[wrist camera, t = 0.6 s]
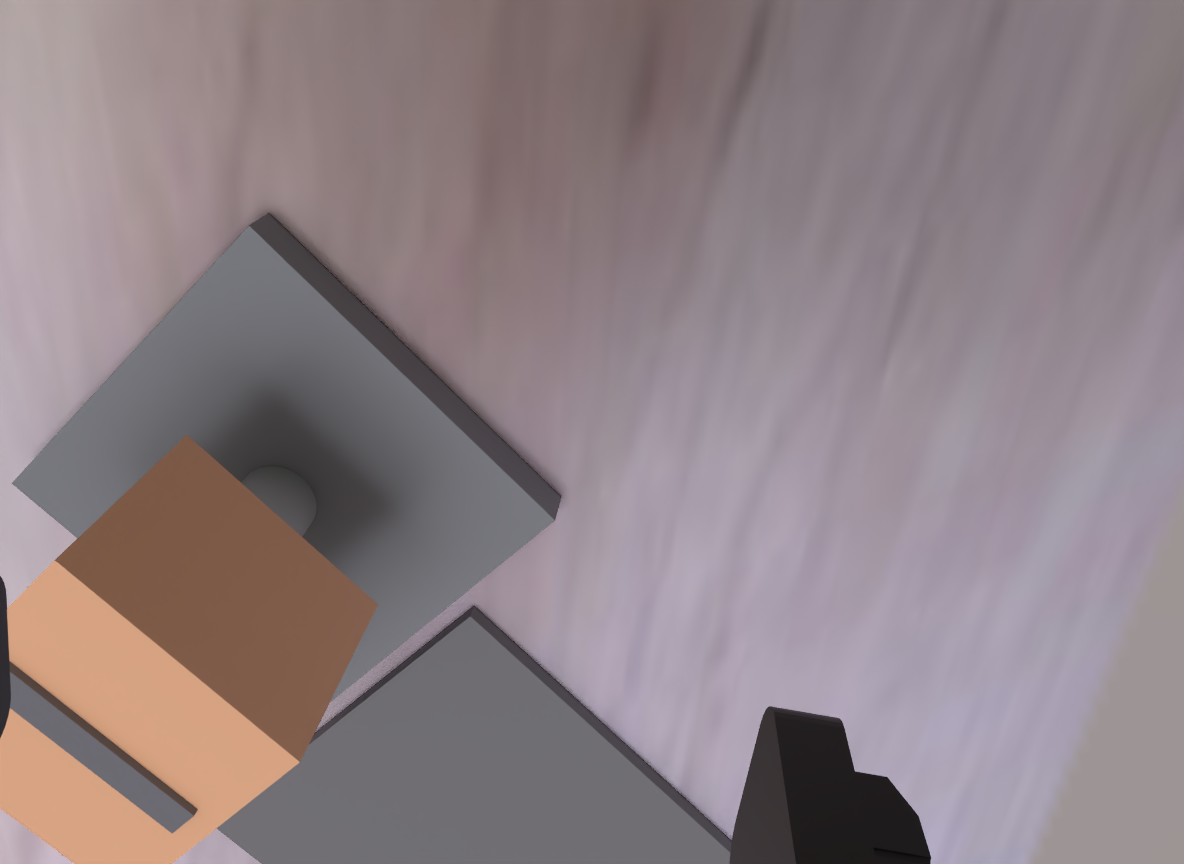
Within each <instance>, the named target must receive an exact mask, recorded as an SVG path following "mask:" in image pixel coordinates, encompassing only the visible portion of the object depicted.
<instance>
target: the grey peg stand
mask: <svg viewBox="0 0 1184 864" xmlns="http://www.w3.org/2000/svg"><path fill="white" fill-rule="evenodd" d="M186 435H188V436H189V437H190V438H191V439H192V440H193V441H195V442H196V443H197V444H198V445H199V446H200V447H201V448H202V449H204V450H205V451H206V452H207V453H208V454H209V455H210V456H211V457H213V458H214V459H215V460H216V461H217V462H218V463H219V464H220V465H222V466H223V467H224V468H225V469H226V470H227V471H228V472H229V473H231V474H232V475H233V476H234V477H235V478H236V479H237V480H238V481H240V482H241V483H242V484H243V485H244V486H245V487H246V488H247V489H249V490H250V491H251V492H252V493H253V494H254V495H255V496H256V497H258V498H259V499H260V500H261V501H262V502H263V503H264V504H265V505H267V506H268V507H269V508H270V509H271V510H272V511H273V512H274V513H276V514H277V515H278V516H279V517H280V518H281V519H282V520H283V521H285V522H286V523H287V524H288V525H289V526H290V527H291V528H292V529H294V530H295V531H296V532H297V533H298V534H299V535H300V536H301V537H303V538H304V539H305V540H306V541H307V542H308V543H309V544H310V545H312V546H313V547H314V548H315V549H316V550H317V551H318V552H319V553H321V554H322V555H323V556H324V557H325V558H326V559H327V560H328V561H330V562H331V563H332V564H333V565H334V566H335V567H336V568H337V569H339V570H340V571H341V572H342V573H343V574H344V575H345V576H346V577H348V578H349V579H350V580H351V581H352V582H353V583H354V584H355V585H357V586H358V587H359V588H360V589H361V590H362V591H363V592H364V593H366V594H367V595H368V596H369V597H370V598H371V599H372V600H373V601H375V602H376V603H377V604H378V606H377V608H376V610H375V612H374V614H373V616H372V618H371V620H370V622H369V624H368V626H367V628H366V630H365V632H364V634H363V636H362V638H361V640H360V642H359V644H358V646H357V648H356V650H355V652H354V654H353V656H352V658H351V660H350V662H349V664H348V666H347V668H346V670H345V672H344V674H343V677H342V679H341V681H340V683H339V685H338V687H337V689H336V691H335V693H334V695H333V697H332V699H331V701H332V700H333V699H335V698H336V697H337V696H338V695H340V694H341V693H342V692H343V691H345V690H346V689H347V688H348V687H349V686H351V685H352V684H353V683H354V682H356V681H357V680H358V679H359V678H361V677H362V676H363V675H364V674H366V673H367V672H368V671H369V670H371V669H372V668H373V667H374V666H375V665H377V664H378V663H379V662H380V661H382V660H383V659H384V658H385V657H387V656H388V655H389V654H390V653H392V652H393V651H394V650H395V649H396V648H398V647H399V646H400V645H401V644H403V643H404V642H405V641H406V640H408V639H409V638H410V637H411V636H413V635H414V634H415V633H416V632H418V631H419V630H420V629H421V628H422V627H424V626H425V625H426V624H427V623H429V622H430V621H431V620H432V619H434V618H435V617H436V616H437V615H439V614H440V613H441V612H442V611H443V610H445V609H446V608H447V607H448V606H450V605H451V604H452V603H453V602H455V601H456V600H457V599H458V598H460V597H461V596H462V595H463V594H465V593H466V592H467V591H468V590H469V589H471V588H472V587H473V586H474V585H476V584H477V583H478V582H479V581H481V580H482V579H483V578H484V577H486V576H487V575H488V574H489V573H490V572H492V571H493V570H494V569H495V568H497V567H498V566H499V565H500V564H502V563H503V562H504V561H505V560H507V559H508V558H509V557H510V556H512V555H513V554H514V553H515V552H516V551H518V550H519V549H520V548H521V547H523V546H524V545H525V544H526V543H528V542H529V541H530V540H531V539H533V538H534V537H535V536H536V535H537V534H539V533H540V532H541V531H542V530H544V529H545V528H546V527H547V526H549V525H550V524H551V523H552V522H554V521H555V518H556V515H557V511H558V507H559V503H560V499H561V497H560V496H559V495H558V494H557V493H556V492H555V491H554V490H553V489H552V488H551V487H550V486H549V485H548V484H547V483H546V482H545V481H544V480H543V479H542V478H541V477H540V476H539V475H538V474H537V473H536V472H535V471H534V470H533V469H532V468H531V467H530V466H529V465H527V464H526V463H525V462H524V461H523V460H522V459H521V458H520V457H519V456H518V455H517V454H516V453H515V452H514V451H513V450H512V449H511V448H510V447H509V446H508V445H507V444H506V443H505V442H504V441H503V440H502V439H501V438H500V437H499V436H498V435H497V434H496V433H495V432H494V431H493V430H491V429H490V428H489V427H488V426H487V425H486V424H485V423H484V422H483V421H482V420H481V419H480V418H479V417H478V416H477V415H476V414H475V413H474V412H473V411H472V410H471V409H470V408H469V407H468V406H467V405H466V404H465V403H464V402H463V401H462V400H461V399H460V398H459V397H458V396H457V395H455V394H454V393H453V392H452V391H451V390H450V389H449V388H448V387H447V386H446V385H445V384H444V383H443V382H442V381H441V380H440V379H439V378H438V377H437V376H436V375H435V374H434V373H433V372H432V371H431V370H430V369H429V368H428V367H427V366H426V365H425V364H424V363H423V362H422V361H421V360H419V359H418V358H417V357H416V356H415V355H414V354H413V353H412V352H411V351H410V350H409V349H408V348H407V347H406V346H405V345H404V344H403V343H402V342H401V341H400V340H399V339H398V338H397V337H396V336H395V335H394V334H393V333H392V332H391V331H390V330H389V329H388V328H387V327H386V326H384V325H383V324H382V323H381V322H380V321H379V320H378V319H377V318H376V317H375V316H374V315H373V314H372V313H371V312H370V311H369V310H368V309H367V308H366V307H365V306H364V305H363V304H362V303H361V302H360V301H359V300H358V299H357V298H356V297H355V296H354V295H353V294H352V293H351V292H350V291H348V290H347V289H346V288H345V287H344V286H343V285H342V284H341V283H340V282H339V281H338V280H337V279H336V278H335V277H334V276H333V275H332V274H331V273H330V272H329V271H328V270H327V269H326V268H325V267H324V266H323V265H322V264H321V263H320V262H319V261H318V260H317V259H316V258H315V257H314V256H312V255H311V254H310V253H309V252H308V251H307V250H306V249H305V248H304V247H303V246H302V245H301V244H300V243H299V242H298V241H297V240H296V239H295V238H294V237H293V236H292V235H291V234H290V233H289V232H288V231H287V230H286V229H285V228H284V227H283V226H282V225H281V224H280V223H279V222H277V221H276V220H275V219H274V218H273V217H272V216H271V215H270V214H269V213H268V214H267V215H265V216H264V217H262V218H260V219H259V220H257V221H256V222H254V223H252V224H251V225H249V226H248V227H247V228H246V229H245V231H244V232H243V233H242V234H241V235H240V236H239V237H238V238H237V239H236V240H235V241H234V242H233V244H232V245H231V246H230V247H229V248H228V249H227V250H226V251H225V252H224V253H223V254H222V256H221V257H220V258H219V259H218V260H217V261H216V262H215V263H214V264H213V265H212V266H211V267H210V269H209V270H208V271H207V272H206V273H205V274H204V275H203V276H202V277H201V278H200V279H199V280H198V282H197V283H196V284H195V285H194V286H193V287H192V288H191V289H190V290H189V291H188V292H187V294H186V295H185V296H184V297H183V298H182V299H181V300H180V301H179V302H178V303H177V304H176V305H175V307H174V308H173V309H172V310H171V311H170V312H169V313H168V314H167V315H166V316H165V317H164V319H163V320H162V321H161V322H160V323H159V324H158V325H157V326H156V327H155V328H154V329H153V330H152V332H151V333H150V334H149V335H148V336H147V337H146V338H145V339H144V340H143V341H142V342H141V344H140V345H139V346H138V347H137V348H136V349H135V350H134V351H133V352H132V353H131V354H130V355H129V357H128V358H127V359H126V360H125V361H124V362H123V363H122V364H121V365H120V366H119V367H118V368H117V370H116V371H115V372H114V373H113V374H112V375H111V376H110V377H109V378H108V379H107V380H106V382H105V383H104V384H103V385H102V386H101V387H100V388H99V389H98V390H97V391H96V392H95V393H94V395H93V396H92V397H91V398H90V399H89V400H88V401H87V402H86V403H85V404H84V405H83V407H82V408H81V409H80V410H79V411H78V412H77V413H76V414H75V415H74V416H73V417H72V418H71V420H70V421H69V422H68V423H67V424H66V425H65V426H64V427H63V428H62V429H61V430H60V431H59V433H58V434H57V435H56V436H55V437H54V438H53V439H52V440H51V441H50V442H49V443H48V445H47V446H46V447H45V448H44V449H43V450H42V451H41V452H40V453H39V454H38V455H37V456H36V458H35V459H34V460H33V461H32V462H31V463H30V464H29V465H28V466H27V467H26V468H25V470H24V471H23V472H22V473H21V474H20V475H19V476H18V477H17V478H16V479H15V480H14V481H13V483H12V484H13V485H14V486H16V487H17V488H18V489H19V490H20V491H22V492H23V493H24V494H25V495H26V496H28V497H29V498H30V499H31V500H32V501H34V502H35V503H36V504H37V505H38V506H39V507H41V508H42V509H43V510H44V511H45V512H47V513H48V514H49V515H50V516H51V517H53V518H54V519H55V520H56V521H57V522H59V523H60V524H61V525H62V526H63V527H65V528H66V529H67V530H68V531H69V532H71V533H72V534H73V535H74V536H75V537H77V538H79V537H80V536H81V535H82V534H83V533H84V532H85V531H86V530H87V529H88V528H89V527H90V526H91V525H92V524H93V523H94V522H96V521H97V520H98V519H99V518H100V517H101V516H102V515H103V514H104V513H105V512H106V511H107V510H108V509H109V508H110V507H111V506H112V505H113V504H114V503H116V502H117V501H118V500H119V499H120V498H121V497H122V496H123V495H124V494H125V493H126V492H127V491H128V490H129V489H130V488H131V487H132V486H133V485H134V484H136V483H137V482H138V481H139V480H140V479H141V478H142V477H143V476H144V475H145V474H146V473H147V472H148V471H149V470H150V469H151V468H152V467H153V466H154V465H156V464H157V463H158V462H159V461H160V460H161V459H162V458H163V457H164V456H165V455H166V454H167V453H168V452H169V451H170V450H171V449H172V448H173V447H174V446H175V445H177V444H178V443H179V442H180V441H181V440H182V439H183V438H184V437H185V436H186ZM331 701H330V702H331Z"/></svg>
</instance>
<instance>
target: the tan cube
mask: <svg viewBox="0 0 1184 864" xmlns="http://www.w3.org/2000/svg"><path fill="white" fill-rule="evenodd" d="M377 606H378V604H377V603H376V602H375V601H373V600H372V599H371V598H370V597H369V596H368V595H367V594H366V593H364V592H363V591H362V590H361V589H360V588H359V587H358V586H357V585H355V584H354V583H353V582H352V581H351V580H350V579H349V578H348V577H346V576H345V575H344V574H343V573H342V572H341V571H340V570H339V569H337V568H336V567H335V566H334V565H333V564H332V563H331V562H330V561H328V560H327V559H326V558H325V557H324V556H323V555H322V554H321V553H319V552H318V551H317V550H316V549H315V548H314V547H313V546H312V545H310V544H309V543H308V542H307V541H306V540H305V539H304V538H303V537H301V536H300V535H299V534H298V533H297V532H296V531H295V530H294V529H292V528H291V527H290V526H289V525H288V524H287V523H286V522H285V521H283V520H282V519H281V518H280V517H279V516H278V515H277V514H276V513H274V512H273V511H272V510H271V509H270V508H269V507H268V506H267V505H265V504H264V503H263V502H262V501H261V500H260V499H259V498H258V497H256V496H255V495H254V494H253V493H252V492H251V491H250V490H249V489H247V488H246V487H245V486H244V485H243V484H242V483H241V482H240V481H238V480H237V479H236V478H235V477H234V476H233V475H232V474H231V473H229V472H228V471H227V470H226V469H225V468H224V467H223V466H222V465H220V464H219V463H218V462H217V461H216V460H215V459H214V458H213V457H211V456H210V455H209V454H208V453H207V452H206V451H205V450H204V449H202V448H201V447H200V446H199V445H198V444H197V443H196V442H195V441H193V440H192V439H191V438H190V437H189V436H188V435H186V436H185V437H184V438H183V439H182V440H181V441H180V442H179V443H178V444H177V445H175V446H174V447H173V448H172V449H171V450H170V451H169V452H168V453H167V454H166V455H165V456H164V457H163V458H162V459H161V460H160V461H159V462H158V463H157V464H156V465H154V466H153V467H152V468H151V469H150V470H149V471H148V472H147V473H146V474H145V475H144V476H143V477H142V478H141V479H140V480H139V481H138V482H137V483H136V484H134V485H133V486H132V487H131V488H130V489H129V490H128V491H127V492H126V493H125V494H124V495H123V496H122V497H121V498H120V499H119V500H118V501H117V502H116V503H114V504H113V505H112V506H111V507H110V508H109V509H108V510H107V511H106V512H105V513H104V514H103V515H102V516H101V517H100V518H99V519H98V520H97V521H96V522H94V523H93V524H92V525H91V526H90V527H89V528H88V529H87V530H86V531H85V532H84V533H83V534H82V535H81V536H80V537H79V538H78V539H77V540H76V541H75V542H73V543H72V544H71V545H70V546H69V547H68V548H67V549H66V550H65V551H64V552H63V553H62V554H61V555H60V556H59V557H58V558H57V559H56V560H55V561H54V562H53V563H52V564H51V565H50V566H49V567H48V568H47V569H46V570H45V571H44V572H43V573H42V574H41V575H40V576H39V577H38V578H37V579H36V580H35V581H34V582H33V583H32V584H31V585H30V586H29V587H28V588H27V589H26V590H25V591H24V592H23V593H22V594H21V595H20V596H19V597H18V598H17V599H16V600H15V601H14V602H13V603H12V604H11V605H10V606H9V607H8V608H7V620H8V642H9V663H10V684H11V703H10V710H9V715H8V719H7V722H6V726H5V728H4V731H3V734H2V736H1V738H0V808H1V809H2V810H3V811H5V812H6V813H7V814H9V815H10V816H11V817H13V818H14V819H15V820H17V821H18V822H19V823H21V824H22V825H23V826H25V827H26V828H27V829H29V830H30V831H31V832H33V833H34V834H35V835H37V836H38V837H39V838H41V839H42V840H43V841H45V842H46V843H47V844H49V845H50V846H51V847H53V848H54V849H55V850H57V851H58V852H59V853H61V854H62V855H63V856H65V857H66V858H68V859H69V860H70V861H72V862H73V863H74V864H172V863H173V862H174V861H176V860H177V859H178V858H180V857H181V856H182V855H183V854H185V853H186V852H187V851H188V850H190V849H191V848H192V847H193V846H195V845H196V844H197V843H198V842H200V841H201V840H202V839H204V838H205V837H206V836H207V835H209V834H210V833H211V832H212V831H214V830H215V829H216V828H217V827H219V826H220V825H221V824H222V823H224V822H225V821H226V820H228V819H229V818H230V817H231V816H233V815H234V814H235V813H236V812H238V811H239V810H240V809H241V808H243V807H244V806H245V805H247V804H248V803H249V802H250V801H252V800H253V799H254V798H255V797H257V796H258V795H259V794H260V793H262V792H263V791H264V790H265V789H267V788H268V787H269V786H271V785H272V784H273V783H274V782H276V781H277V780H278V779H279V778H281V777H282V776H283V775H284V774H286V773H287V772H288V771H290V770H291V769H292V768H293V767H295V766H296V765H297V764H298V763H300V761H301V759H302V757H303V755H304V753H305V751H306V749H307V747H308V745H309V743H310V741H311V739H312V737H313V735H314V733H315V731H316V729H317V727H318V725H319V723H320V721H321V719H322V717H323V715H324V713H325V711H326V709H327V707H328V705H329V703H330V701H331V699H332V697H333V695H334V693H335V691H336V689H337V687H338V685H339V683H340V681H341V679H342V677H343V674H344V672H345V670H346V668H347V666H348V664H349V662H350V660H351V658H352V656H353V654H354V652H355V650H356V648H357V646H358V644H359V642H360V640H361V638H362V636H363V634H364V632H365V630H366V628H367V626H368V624H369V622H370V620H371V618H372V616H373V614H374V612H375V610H376V608H377Z"/></svg>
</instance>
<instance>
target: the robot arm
mask: <svg viewBox="0 0 1184 864" xmlns="http://www.w3.org/2000/svg"><path fill="white" fill-rule="evenodd" d="M10 703H11V684H10V663H9V642H8V620H7V599H6V589H5V585H4V582H3V580H2V578H1V577H0V738H1V736H2V734H3V731H4V728H5V726H6V722H7V719H8V715H9V710H10ZM930 860H931V856H930V852H929V849H928V846H927V843H926V839H925V836H924V833H923V829H922V826H921V823H920V820H919V816H918V815H917V814H916V812H915V811H914V810H913V809H912V807H911V806H910V805H909V804H908V802H907V801H906V800H905V799H904V798H903V796H902V795H901V794H900V793H899V791H898V790H897V789H896V788H895V786H894V785H893V784H892V783H891V781H890V780H889V779H888V778H887V777H883V776H878V775H872V774H866V773H860V772H855V771H854V766H853V762H852V758H851V754H850V750H849V746H848V741H847V737H846V733H845V729H844V726H843V723H842V721H841V720H840V719H839V718H835V717H829V716H823V715H817V714H811V713H806V712H800V711H794V710H788V709H782V708H776V707H770V706H769V707H768V708H767V709H766V711H765V713H764V715H763V718H762V721H761V724H760V728H759V732H758V736H757V740H756V744H755V748H754V752H753V756H752V759H751V763H750V767H749V771H748V775H747V779H746V783H745V787H744V791H743V795H742V799H741V803H740V807H739V810H738V814H737V818H736V822H735V827H734V832H733V838H732V844H731V852H730V863H729V864H930Z"/></svg>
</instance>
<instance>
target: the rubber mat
mask: <svg viewBox="0 0 1184 864" xmlns="http://www.w3.org/2000/svg"><path fill="white" fill-rule="evenodd" d="M217 829H218V830H219V831H221V832H222V833H223V834H224V835H226V836H227V837H228V838H230V839H231V840H232V841H233V842H235V843H236V844H237V845H238V846H240V847H241V848H242V849H244V850H245V851H246V852H247V853H249V854H250V855H251V856H252V857H254V858H255V859H256V860H258V861H259V862H260V863H261V864H729V863H730V852H731V844H732V841H730V840H729V839H728V838H727V837H726V836H725V835H724V834H723V833H722V832H721V831H720V830H718V829H717V828H716V827H715V826H714V825H713V824H712V823H711V822H710V821H709V820H707V819H706V818H705V817H704V816H703V815H702V814H701V813H700V812H699V811H698V810H697V809H695V808H694V807H693V806H692V805H691V804H690V803H689V802H688V801H687V800H686V799H685V798H683V797H682V796H681V795H680V794H679V793H678V792H677V791H676V790H675V789H674V788H672V787H671V786H670V785H669V784H668V783H667V782H666V781H665V780H664V779H663V778H662V777H660V776H659V775H658V774H657V773H656V772H655V771H654V770H653V769H652V768H651V767H649V766H648V765H647V764H646V763H645V762H644V761H643V760H642V759H641V758H640V757H639V756H637V755H636V754H635V753H634V752H633V751H632V750H631V749H630V748H629V747H628V746H627V745H625V744H624V743H623V742H622V741H621V740H620V739H619V738H618V737H617V736H616V735H614V734H613V733H612V732H611V731H610V730H609V729H608V728H607V727H606V726H605V725H604V724H602V723H601V722H600V721H599V720H598V719H597V718H596V717H595V716H594V715H593V714H591V713H590V712H589V711H588V710H587V709H586V708H585V707H584V706H583V705H582V704H581V703H579V702H578V701H577V700H576V699H575V698H574V697H573V696H572V695H571V694H570V693H568V692H567V691H566V690H565V689H564V688H563V687H562V686H561V685H560V684H559V683H558V682H556V681H555V680H554V679H553V678H552V677H551V676H550V675H549V674H548V673H547V672H546V671H544V670H543V669H542V668H541V667H540V666H539V665H538V664H537V663H536V662H535V661H533V660H532V659H531V658H530V657H529V656H528V655H527V654H526V653H525V652H524V651H523V650H521V649H520V648H519V647H518V646H517V645H516V644H515V643H514V642H513V641H512V640H510V639H509V638H508V637H507V636H506V635H505V634H504V633H503V632H502V631H501V630H500V629H498V628H497V627H496V626H495V625H494V624H493V623H492V622H491V621H490V620H489V619H488V618H486V617H485V616H484V615H483V614H482V613H481V612H480V611H479V610H478V609H477V608H475V607H474V606H473V607H472V608H471V609H470V610H468V611H467V612H466V613H465V614H463V615H462V616H461V617H460V618H458V619H457V620H456V621H455V622H453V623H452V624H451V625H450V626H448V627H447V628H446V629H445V630H443V631H442V632H441V633H440V634H438V635H437V636H436V637H435V638H433V639H432V640H431V641H430V642H428V643H427V644H426V645H425V646H423V647H422V648H421V649H420V650H418V651H417V652H416V653H415V654H413V655H412V656H411V657H410V658H408V659H407V660H406V661H405V662H403V663H402V664H401V665H400V666H398V667H397V668H396V669H395V670H393V671H392V672H391V673H390V674H388V675H387V676H386V677H385V678H383V679H382V680H381V681H380V682H378V683H377V684H376V685H375V686H373V687H372V688H371V689H370V690H368V691H367V692H366V693H365V694H363V695H362V696H361V697H360V698H358V699H357V700H356V701H355V702H353V703H352V704H351V705H350V706H348V707H347V708H346V709H345V710H343V711H342V712H341V713H340V714H338V715H337V716H336V717H335V718H333V719H332V720H331V721H330V722H328V723H327V724H326V725H325V726H323V727H322V728H321V729H320V730H318V731H317V732H316V733H315V734H314V735H313V737H312V739H311V741H310V743H309V745H308V747H307V749H306V751H305V753H304V755H303V757H302V759H301V761H300V763H298V764H297V765H296V766H295V767H293V768H292V769H291V770H290V771H288V772H287V773H286V774H284V775H283V776H282V777H281V778H279V779H278V780H277V781H276V782H274V783H273V784H272V785H271V786H269V787H268V788H267V789H265V790H264V791H263V792H262V793H260V794H259V795H258V796H257V797H255V798H254V799H253V800H252V801H250V802H249V803H248V804H247V805H245V806H244V807H243V808H241V809H240V810H239V811H238V812H236V813H235V814H234V815H233V816H231V817H230V818H229V819H228V820H226V821H225V822H224V823H222V824H221V825H220V826H219V827H217Z"/></svg>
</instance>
